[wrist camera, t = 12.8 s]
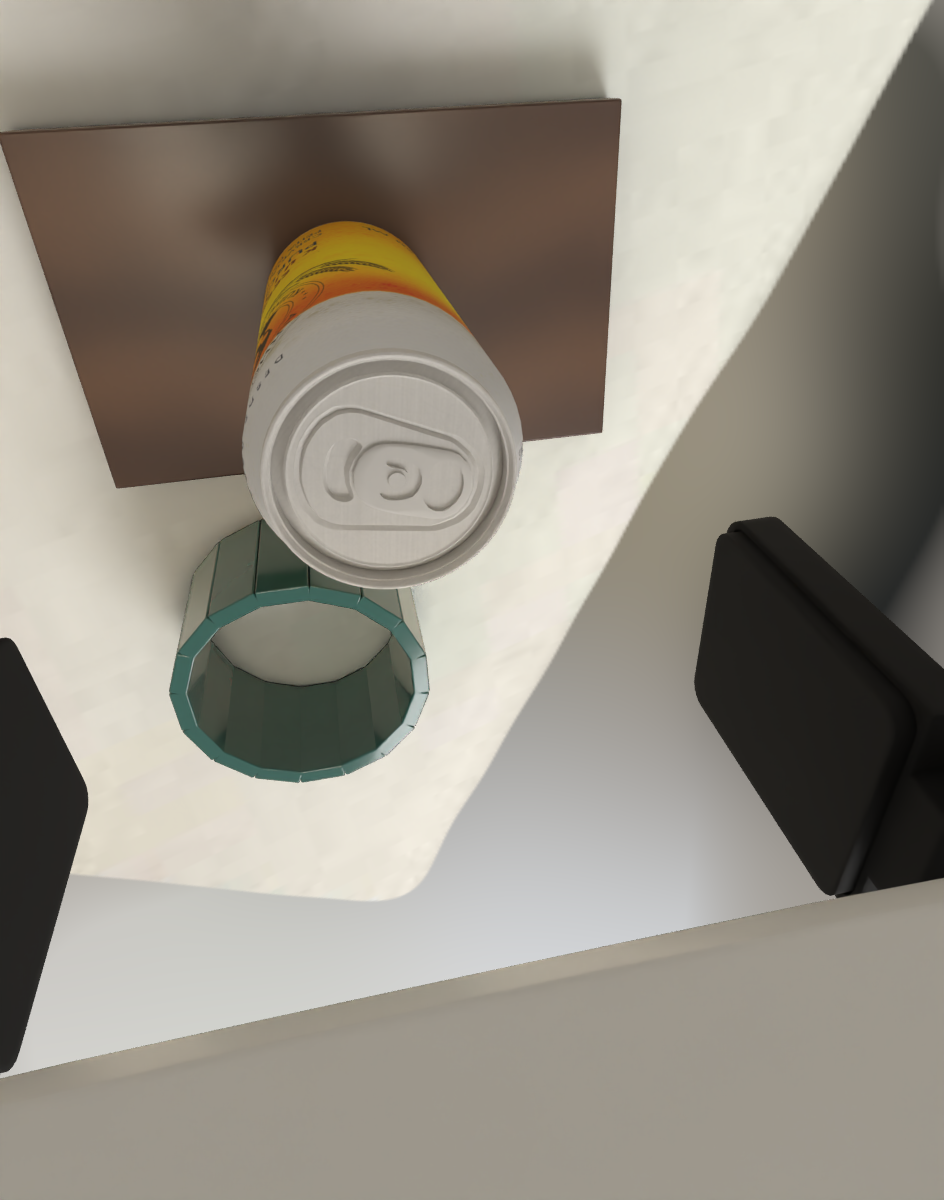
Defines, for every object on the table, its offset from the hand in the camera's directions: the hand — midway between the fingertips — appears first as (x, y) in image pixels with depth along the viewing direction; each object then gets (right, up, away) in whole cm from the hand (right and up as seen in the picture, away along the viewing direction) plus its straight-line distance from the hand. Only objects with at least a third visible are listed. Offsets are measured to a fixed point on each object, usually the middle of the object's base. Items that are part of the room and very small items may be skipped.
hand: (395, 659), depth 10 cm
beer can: (-3, +12, +18) cm, 21 cm away
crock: (-7, 0, +26) cm, 27 cm away
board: (-4, +12, +19) cm, 23 cm away
